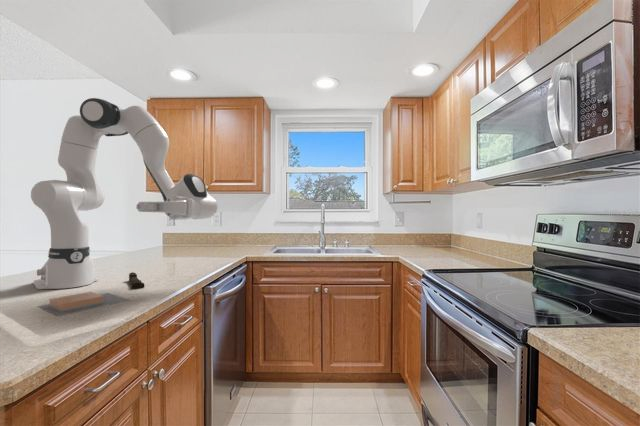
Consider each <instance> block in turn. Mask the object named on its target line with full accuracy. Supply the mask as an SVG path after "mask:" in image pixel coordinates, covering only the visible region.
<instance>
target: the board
mask: <svg viewBox="0 0 640 426" xmlns="http://www.w3.org/2000/svg"><path fill="white" fill-rule="evenodd" d="M99 295H102V296H103V303H102V304H97V305H92V306H87V307H83V308H78V309H73V310H68V311H64V312H60V311H58V310H56V309H54V308H51V307H50V303H47V304H42V305H38V306H37V308H40V309H42V310H44V311H45V312H48V313H50V314H52V315H54V316H56V317H60V316H65V315H69V314H74V313H78V312H82V311H86V310H87V311H88V310H93V309H97V308H101V307H106V306H110V305H114V304H119V303H123V302H129V301H130V299H128V298H126V297H122V296H119V295H116V294H112V293H109V292H107V293H101V294H100V293H99Z"/></svg>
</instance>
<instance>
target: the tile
mask: <svg viewBox="0 0 640 426" xmlns="http://www.w3.org/2000/svg"><path fill="white" fill-rule="evenodd" d="M102 303H103V296H102V295H100V293H96V292H92V291H89V292H88V291H87V292H84V293H83V292H81V293H77V294H71V295H65V296H60V297H55V298H49V304H50V307H51V308H54V309H56V310H58V311H60V312H64V311H68V310H73V309H78V308H83V307H87V306H92V305H97V304H102Z"/></svg>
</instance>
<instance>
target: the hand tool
mask: <svg viewBox="0 0 640 426" xmlns="http://www.w3.org/2000/svg"><path fill="white" fill-rule="evenodd" d="M128 281H129V284H130V286H131V287H130V288H131V290H138V289H144V288H145V283H144V282H142V280H141V279H139V278H138V275H137V273H136V272H133V271H132V272H129V273H128Z"/></svg>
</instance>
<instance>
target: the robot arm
mask: <svg viewBox="0 0 640 426" xmlns="http://www.w3.org/2000/svg"><path fill="white" fill-rule="evenodd" d="M79 114H80V115H73V116H71V117H69V118H68V119H67V121H66V124H65V126H64V129H63V132H62V136H61V139H60V140H61V141H60V146H59V151H58V157H57V163H58V166H60V167H61V168H62V169H63V170H64V171H65V175H66V181H65V180H61V179H60V180H57V179H50V180H49V179H48V180H42V181H41V180H40V181H39V182H38V181H37V182H36V183H35V184H34V186H32V188H31V190H30V199H31V202H32V203H33V204H34V205H35V206H36V208H37V207H38V208H39V209H40V210H41V211H42V212H43V213H44V215H45V217H46V218H47V221H48V224H49V227H50V228H49V229H50V248H49V250H48V253H47V254H48V255H47V257H48V259H47V260H46V261H45V263H44V264H43V266H42V267H41V268H38V269H37V270H36V275H37V276H38V277H39V276H40V279H34V280H33V281H32V283H33V285H34V286H35V288H36V289H37V290H53V289H54V290H57V289H58V290H61V289H70V288H72V289H73V288H77V287H78V288H79V287H83V286H88V285H91V284H93V283H95V282H98V281H99V278H98V277H96V276H95V267H94V261H93V259H91V258H90V257H89V256H90V255H91V254H90V252H91V251H90V246H89V227H88V225H87V223H85V222H83V220H82V219H81V218H80V215H79V212H78V211H91V210H95V209H98V208H100V207H101V206H102V205H103V204H104V203H105V193H104V191H103V190H102V188H101V187H100V186H99V184H98V181H97V177H96V170H95V169H96V161H97V154H98V149H99V142H100V139H101V138H102V136H105V137H121V136H126V135H128V134H129V135H130V137H131V138H132V139H133V141H134V142H135V143H136V145H137V146H138V148H139V151H140V153H141V155H142V158H143V159H142V160H143V163H144V166H145V168H146V170H147V172H148V173H149V175H150V177H151V178H152V180H153V183H154V184H155V185H156V187H157V188H158V190H159V192H160V193H161V197H162V199H163V201H138V203H137V204H136V209H137V211H138V212H139V213H160V214H161V213H164V214H165V215H166V216H167V217H168V218H170V219H171V220H177V221H178V220H189V219H192V220H207V219H209V218H212V217H213V216H214V215H215V214H216V213H217V210H218V202H217V200H216V199H215V198H214V197H213V196H211V195H210V193H209V192H208V190H207V189H206V187H207V186H206V184H205V182H204V179H202V178H201V177H200V176H198V175H196V174H193V173H186V174H185V175H183V177H182V178H180V180H178V181H177V182H176V184H175V183H174V181H173V180H172V178H171V177H170V174H169V173H168V172H167V170H166V165H165V163H166V162H165V161H166V157H167V153H168V151H169V148H170V139H169V136H168V134H167V132H166V131H165V130H164V128H163V127H162V126H161V125H160V123H159V122H158V120H157V119H156V118H155V117H154V116H153V115H152V114H151V113H150V112H149V111H148V110H147V109H145V108H144V107H143V106H141V105H132V106H128V107H126V108H125V109H122V108H120V106H118V105H116V104H114V103H112V102H109V101H108V100H105V99H101V98H99V97H98V98H96V97H92V98H91V97H90V98H87V99H85V100H84V101H83V102H82V103H81V105H80V107H79Z"/></svg>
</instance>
